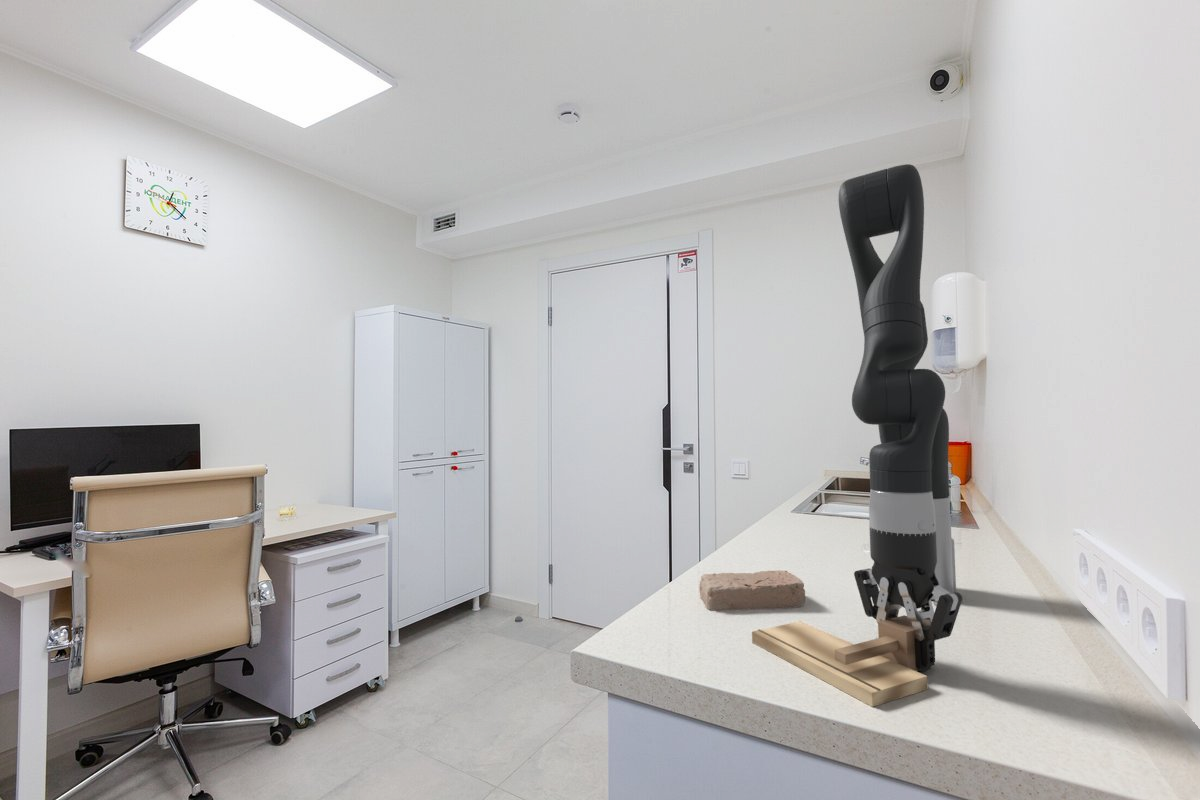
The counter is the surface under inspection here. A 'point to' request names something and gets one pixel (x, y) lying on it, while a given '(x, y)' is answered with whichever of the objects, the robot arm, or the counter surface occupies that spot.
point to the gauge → (885, 644)
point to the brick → (751, 590)
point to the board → (817, 656)
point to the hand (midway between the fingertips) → (906, 660)
